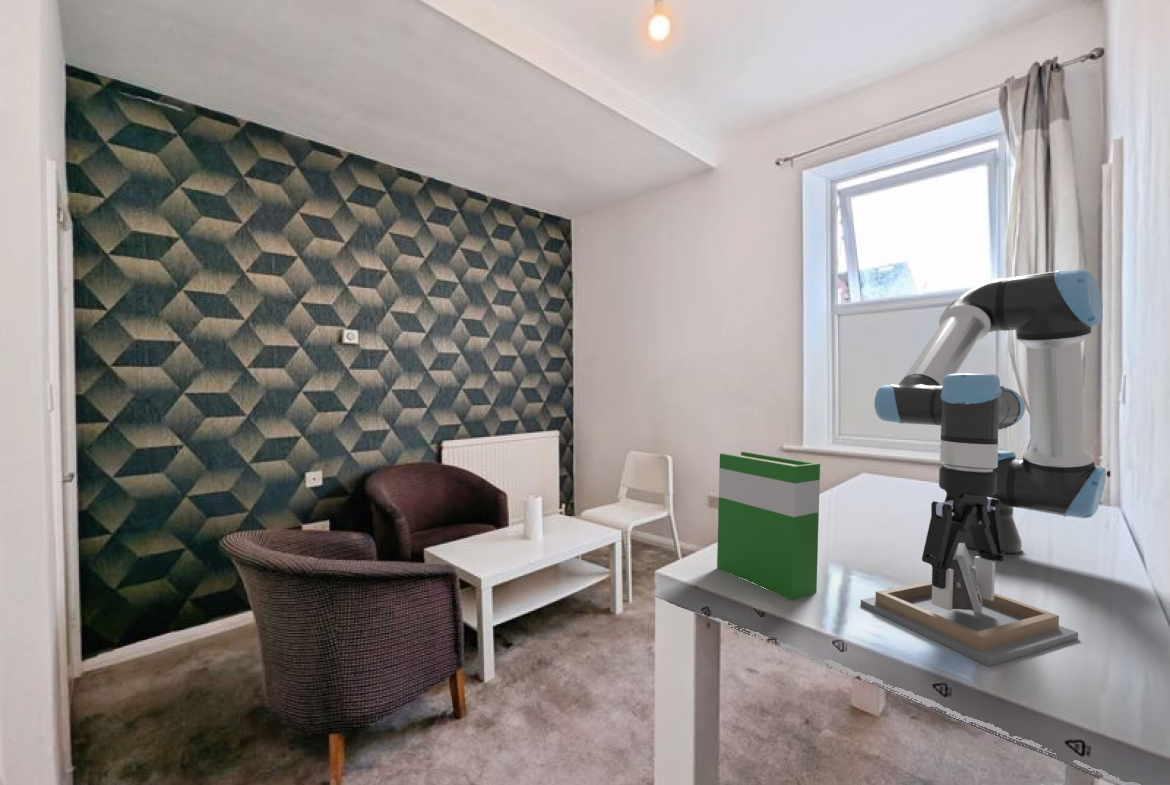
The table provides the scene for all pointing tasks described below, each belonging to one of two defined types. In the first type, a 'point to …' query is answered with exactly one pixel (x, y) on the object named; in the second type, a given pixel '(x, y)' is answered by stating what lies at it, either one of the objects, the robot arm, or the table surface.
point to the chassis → (973, 623)
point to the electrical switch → (965, 582)
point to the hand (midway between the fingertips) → (963, 601)
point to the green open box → (769, 522)
